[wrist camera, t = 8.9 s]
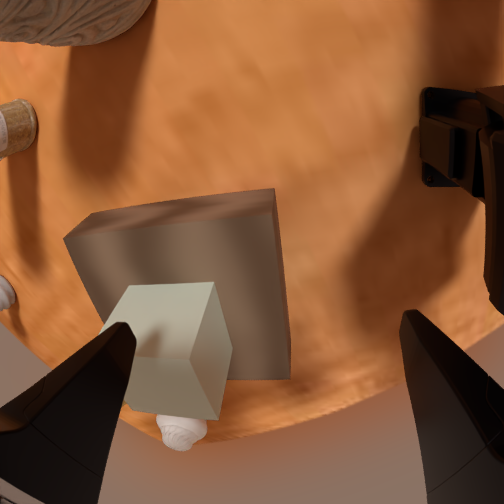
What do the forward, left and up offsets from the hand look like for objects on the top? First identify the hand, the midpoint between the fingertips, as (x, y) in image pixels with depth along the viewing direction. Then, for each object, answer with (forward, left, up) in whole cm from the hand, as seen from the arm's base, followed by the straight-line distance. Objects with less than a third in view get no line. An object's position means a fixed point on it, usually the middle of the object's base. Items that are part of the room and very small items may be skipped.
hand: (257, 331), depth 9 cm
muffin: (+13, +25, -12) cm, 30 cm away
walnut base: (+7, +7, -12) cm, 15 cm away
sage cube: (+7, +7, -8) cm, 12 cm away
